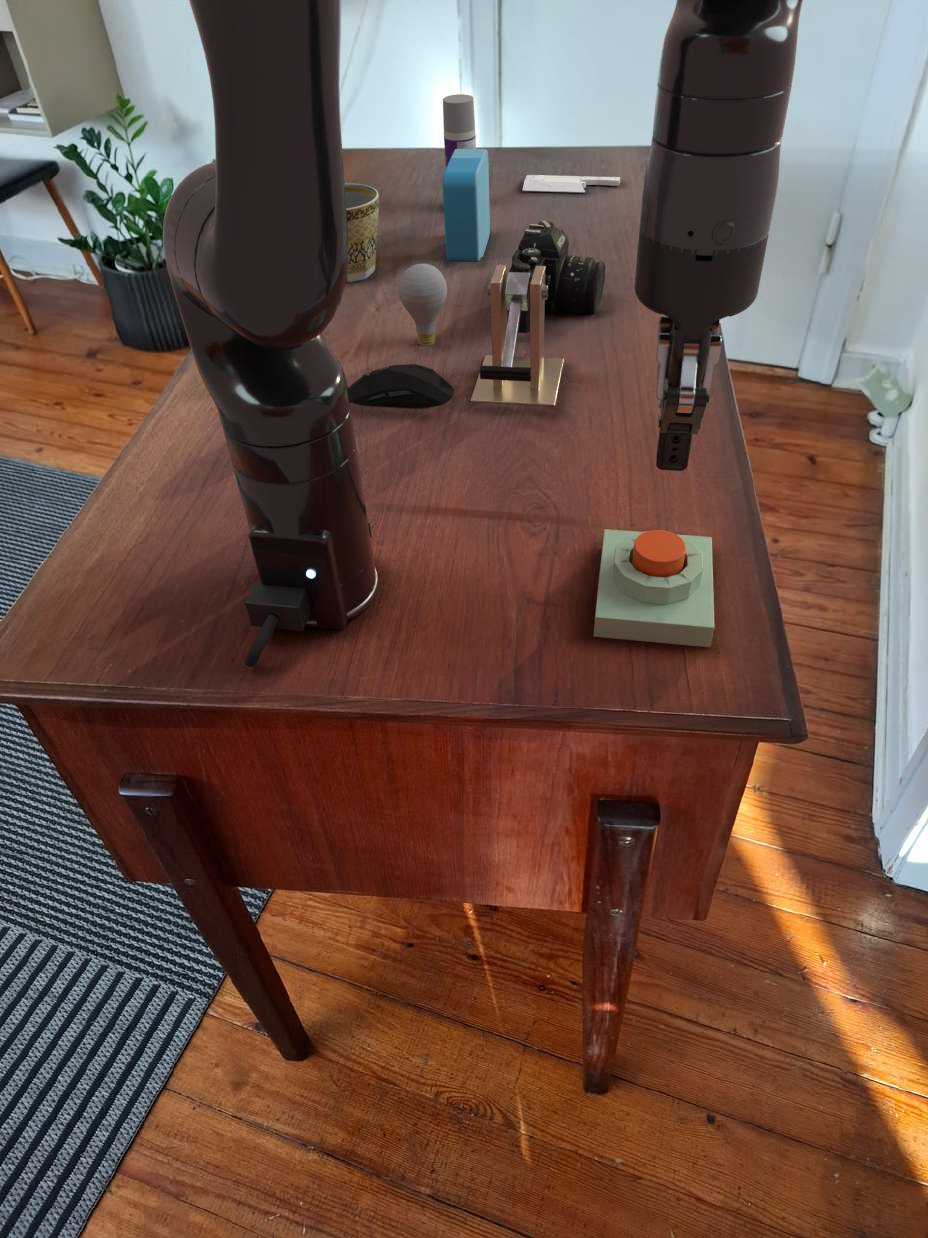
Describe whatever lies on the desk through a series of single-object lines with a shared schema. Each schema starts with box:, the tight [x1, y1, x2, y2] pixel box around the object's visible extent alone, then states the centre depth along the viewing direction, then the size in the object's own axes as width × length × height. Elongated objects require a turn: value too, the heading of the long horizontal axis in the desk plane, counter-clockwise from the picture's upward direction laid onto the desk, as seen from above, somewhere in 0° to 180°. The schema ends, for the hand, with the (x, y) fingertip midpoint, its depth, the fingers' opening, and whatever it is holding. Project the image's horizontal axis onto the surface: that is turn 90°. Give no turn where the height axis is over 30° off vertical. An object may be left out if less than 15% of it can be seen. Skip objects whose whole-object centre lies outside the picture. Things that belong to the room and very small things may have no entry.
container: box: [442, 93, 477, 168], centre depth 134 cm, size 5×5×15 cm
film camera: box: [507, 220, 606, 334], centre depth 108 cm, size 18×12×10 cm
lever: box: [479, 271, 532, 382], centre depth 89 cm, size 12×5×2 cm, turn 170°
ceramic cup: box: [345, 183, 380, 283], centre depth 120 cm, size 13×10×10 cm
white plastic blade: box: [521, 174, 621, 194], centre depth 142 cm, size 5×15×1 cm, turn 78°
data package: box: [442, 148, 491, 262], centre depth 122 cm, size 12×4×12 cm, turn 172°
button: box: [632, 529, 686, 578], centre depth 71 cm, size 4×4×2 cm
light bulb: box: [398, 263, 448, 346], centre depth 102 cm, size 6×6×10 cm
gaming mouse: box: [348, 363, 455, 410], centre depth 96 cm, size 6×15×4 cm, turn 84°
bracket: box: [470, 264, 565, 407], centre depth 94 cm, size 10×9×13 cm
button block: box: [593, 528, 715, 648], centre depth 72 cm, size 11×9×4 cm
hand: (671, 464), depth 65 cm, fingers closed
